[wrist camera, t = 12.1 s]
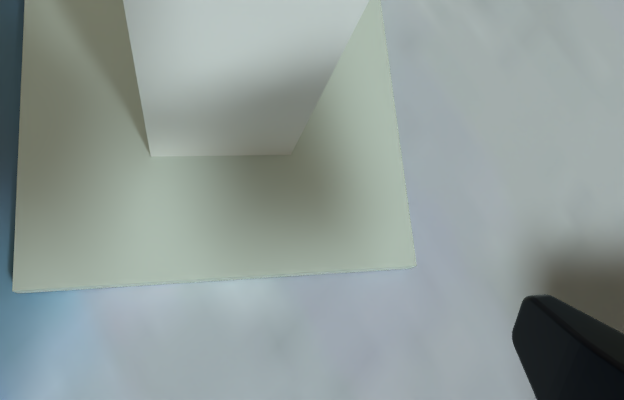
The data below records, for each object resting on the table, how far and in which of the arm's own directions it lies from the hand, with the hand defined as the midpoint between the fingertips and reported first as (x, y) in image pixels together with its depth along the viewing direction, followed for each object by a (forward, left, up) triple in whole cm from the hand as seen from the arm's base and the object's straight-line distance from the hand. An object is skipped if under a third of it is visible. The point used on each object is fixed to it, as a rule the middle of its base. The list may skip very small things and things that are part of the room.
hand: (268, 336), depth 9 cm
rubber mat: (+7, +3, -9) cm, 12 cm away
